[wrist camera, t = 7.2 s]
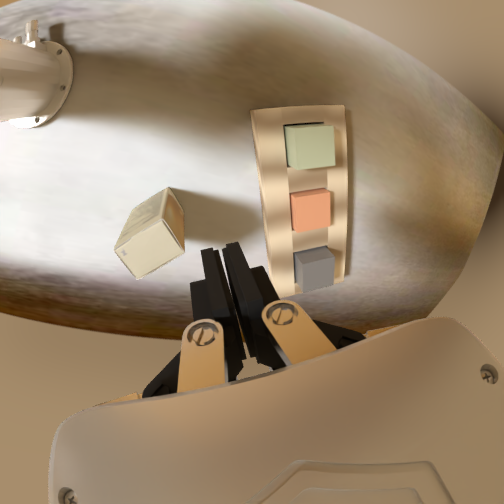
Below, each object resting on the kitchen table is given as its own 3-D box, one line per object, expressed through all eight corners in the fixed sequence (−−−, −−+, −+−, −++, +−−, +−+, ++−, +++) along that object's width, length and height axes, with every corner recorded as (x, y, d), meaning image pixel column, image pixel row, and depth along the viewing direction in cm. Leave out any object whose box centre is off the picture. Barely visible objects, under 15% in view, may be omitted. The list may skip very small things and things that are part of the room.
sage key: (283, 126, 32) (293, 128, 29) (319, 123, 32) (333, 125, 29) (287, 164, 34) (297, 170, 31) (322, 159, 35) (335, 165, 32)
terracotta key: (285, 189, 38) (294, 197, 35) (318, 184, 38) (330, 192, 35) (288, 222, 40) (297, 233, 37) (319, 216, 41) (330, 226, 38)
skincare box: (148, 233, 37) (135, 283, 27) (131, 208, 35) (109, 251, 24) (187, 211, 37) (186, 254, 26) (170, 184, 35) (162, 218, 24)
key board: (249, 110, 32) (254, 109, 30) (333, 104, 34) (344, 105, 31) (270, 288, 46) (275, 299, 44) (335, 272, 48) (343, 281, 45)
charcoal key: (293, 251, 41) (302, 264, 38) (323, 244, 41) (335, 256, 38) (294, 278, 43) (303, 292, 40) (323, 271, 44) (333, 284, 41)
